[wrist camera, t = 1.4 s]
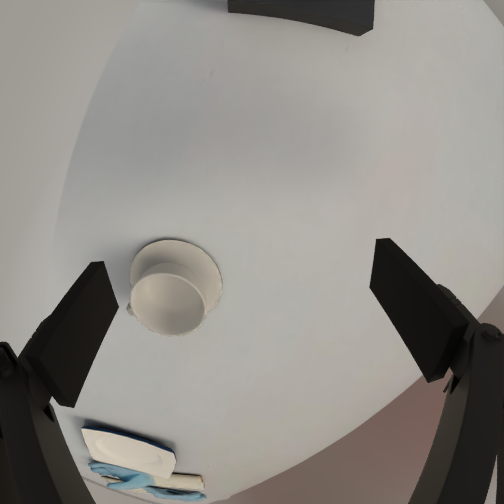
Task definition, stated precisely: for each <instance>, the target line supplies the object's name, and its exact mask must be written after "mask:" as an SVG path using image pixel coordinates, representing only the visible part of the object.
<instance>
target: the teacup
mask: <svg viewBox="0 0 504 504" xmlns="http://www.w3.org/2000/svg"><path fill="white" fill-rule="evenodd" d="M130 284H131V287H132V290H131V293H130V302H129V304H128V305H127V311H128V313H129V314H130V315H132V316H135V317H136V318H137V319H138V321H139V322H140V323H141V324H142V325H144V326H145V327H146V328H148V329H149V330H151V331H153V332H155V333H158V334H160V335H164V336H172V337H176V336H184V335H187V334H190V333H192V332H194V331H195V330H197V329H198V328H199V327H200V326H201V325H202V323H203V321H204V319H205V317H206V313H208V312H209V311H210V310H211V309H212V308H213V307H214V306H215V305H216V303H217V302H218V300H219V298H220V295H221V290H222V281H221V276H220V273H219V270H218V268H217V266H216V264H215V263H214V262H213V260H212V259H211V258H210V257H209V256H208V255H207V254H206V253H205V252H204V251H202V250H201V249H199V248H198V247H196V246H194V245H192V244H189V243H186V242H182V241H178V240H162V241H157V242H154V243H152V244H149V245H147V246H146V247H144V248H143V249H142V250H141V251H140V252H139V253H138V254H137V255H136V256H135V258H134V260H133V261H132V264H131V267H130Z"/></svg>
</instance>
